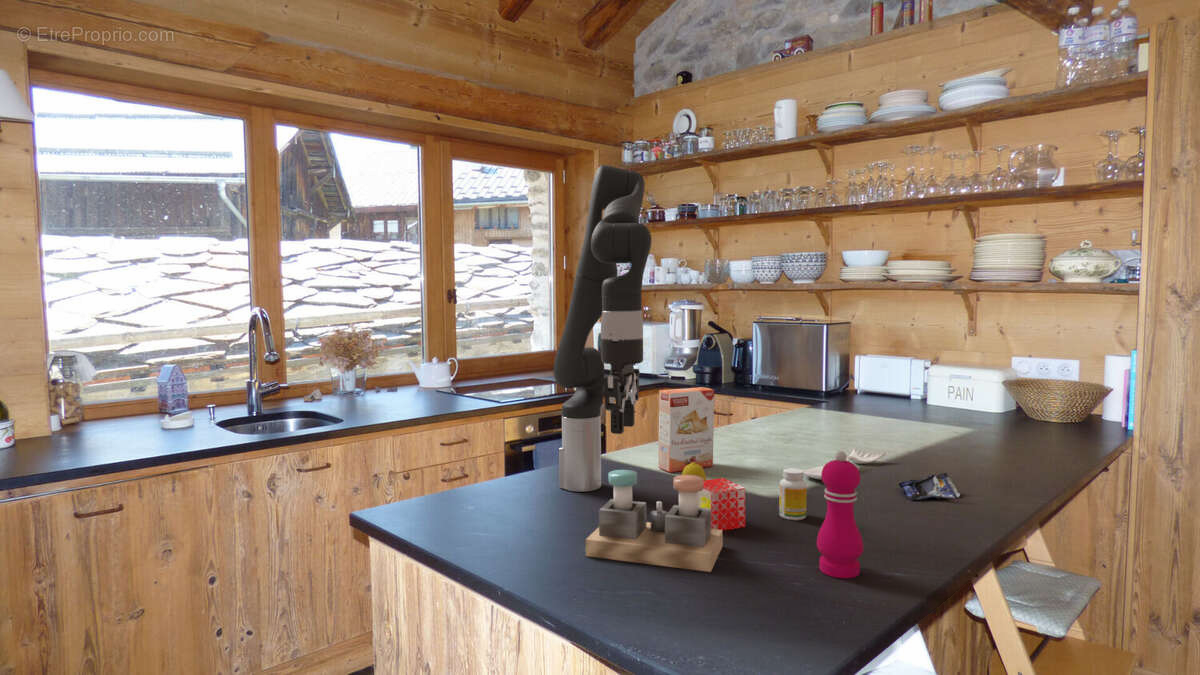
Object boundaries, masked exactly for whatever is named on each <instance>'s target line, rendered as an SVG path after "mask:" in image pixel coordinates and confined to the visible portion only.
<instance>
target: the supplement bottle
mask: <svg viewBox="0 0 1200 675" xmlns="http://www.w3.org/2000/svg"><path fill="white" fill-rule="evenodd" d="M803 470H804V469H800V468H793V467H788V468H787V467H786V468H785V469H783V471H782V473H783V474H782V476H783V478H782V479H781V480H780V481H779V489H778V490H779V495H778V496H779V500H778V502H779V503H778V506H779V507H778V511H779V512H778V513H779V516H780V517H781V518H783V519H785V520H790V521H801V520H804V519H805V518H806V517H807V498H808V497H807V495H808V494H807V493H808V492H807V491H808V487H807V486H808V485H807V482H806V481H805V480H804V478H805V475H804V472H803Z"/></svg>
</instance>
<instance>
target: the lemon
mask: <svg viewBox="0 0 1200 675" xmlns="http://www.w3.org/2000/svg"><path fill="white" fill-rule="evenodd" d="M681 472H682V473H681V475H695V476H699V477H702V478H703V481H704V480H707V477H706V476H707V475H706V472H705V470H704V468H702V467H701V466H700V465H698V464H696V463H695V462H692V463H691V464H689V465H687V466H686V467H685V468H684V469H683V471H681Z"/></svg>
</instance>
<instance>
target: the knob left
mask: <svg viewBox="0 0 1200 675" xmlns="http://www.w3.org/2000/svg"><path fill="white" fill-rule="evenodd" d="M607 474H608V484H609V485H610V486H611V485H612V486H613V492H612V493H613V499H614V509H616V510H626V511H632V501H633V486H635V485H637V484H638V472H637V471H635V470H630V469H615V470H611V471H609V472H608V473H607Z"/></svg>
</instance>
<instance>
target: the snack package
mask: <svg viewBox="0 0 1200 675" xmlns="http://www.w3.org/2000/svg"><path fill="white" fill-rule="evenodd" d="M898 486H899V488H900V489H902V490H901V491H902V492H903V495H904V497H905V499H908V500H910V501H912V502H913V501H916V500H917V501H919V500H926V499H930V498H937V499H948V500H950V499H951V500H952V499H957V498H959V497H960V496H961V493H959V492H958V490H957V488H956V486H955V484H954V482H952V480H951V478H950V476H949V475H948V473H947V472H943V473H939V474H938V475H937V476H936V474H931V475H930V474H928V475H927V477H924V478H920V479H910V480H907V481H902V482H900V483H898Z"/></svg>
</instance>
